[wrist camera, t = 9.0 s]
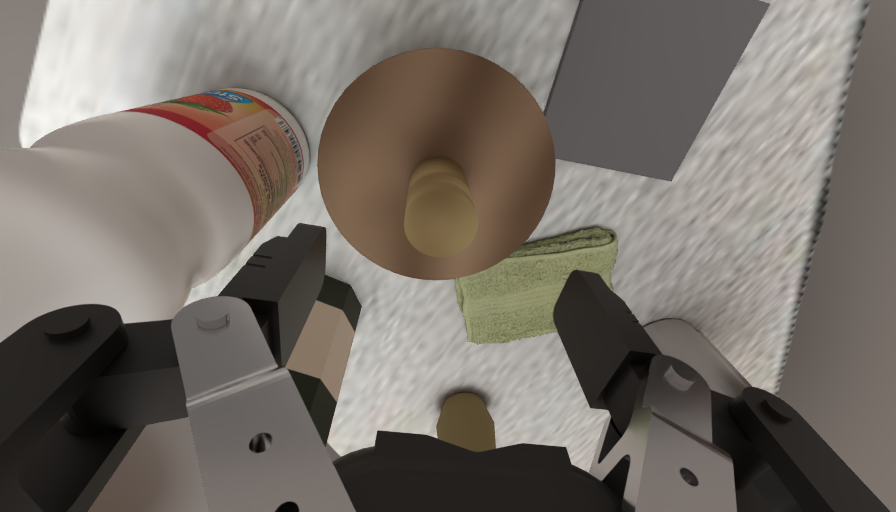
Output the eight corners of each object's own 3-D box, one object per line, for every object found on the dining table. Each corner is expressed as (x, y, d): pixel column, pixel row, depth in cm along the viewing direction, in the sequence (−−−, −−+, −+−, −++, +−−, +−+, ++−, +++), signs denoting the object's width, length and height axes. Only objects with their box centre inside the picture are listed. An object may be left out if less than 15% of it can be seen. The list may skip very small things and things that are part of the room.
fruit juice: (264, 214, 33) (-145, 641, 10) (173, 133, 29) (-974, 537, 5) (335, 157, 31) (15, 548, 7) (246, 59, 26) (-1342, 200, 3)
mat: (763, 4, 26) (770, 3, 26) (667, 179, 33) (671, 181, 33) (595, -45, 24) (598, -47, 24) (531, 152, 31) (532, 153, 31)
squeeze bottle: (425, 411, 51) (424, 568, 36) (454, 379, 47) (465, 539, 32) (471, 425, 53) (487, 579, 38) (501, 396, 50) (533, 552, 35)
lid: (585, 78, 17) (650, 92, 12) (513, 282, 24) (535, 346, 19) (322, 20, 16) (270, 9, 11) (322, 257, 22) (291, 321, 17)
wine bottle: (376, 307, 40) (284, 768, 15) (326, 340, 42) (173, 785, 17) (322, 260, 36) (72, 769, 11) (270, 299, 39) (-32, 790, 13)
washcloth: (446, 252, 37) (447, 269, 34) (611, 218, 36) (626, 233, 33) (467, 337, 44) (470, 356, 41) (606, 311, 43) (618, 330, 40)
